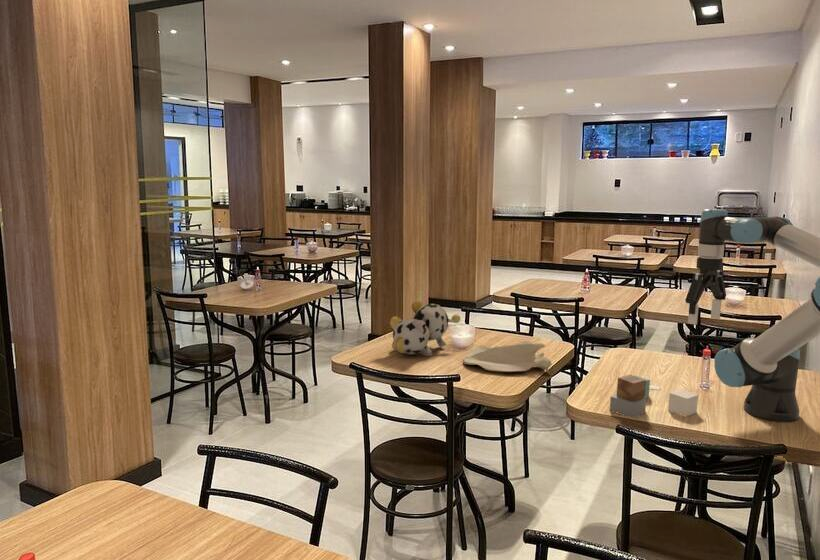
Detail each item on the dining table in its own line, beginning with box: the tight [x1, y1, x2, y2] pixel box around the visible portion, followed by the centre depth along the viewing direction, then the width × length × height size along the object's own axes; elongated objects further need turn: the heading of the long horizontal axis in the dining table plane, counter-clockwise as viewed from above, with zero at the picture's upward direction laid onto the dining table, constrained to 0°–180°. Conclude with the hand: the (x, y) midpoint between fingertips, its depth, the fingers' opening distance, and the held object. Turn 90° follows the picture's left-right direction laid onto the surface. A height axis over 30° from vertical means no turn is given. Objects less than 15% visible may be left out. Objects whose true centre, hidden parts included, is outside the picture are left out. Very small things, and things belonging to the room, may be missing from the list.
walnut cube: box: [616, 374, 646, 402], centre depth 190 cm, size 6×6×6 cm
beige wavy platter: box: [462, 340, 553, 373], centre depth 236 cm, size 36×21×11 cm, turn 53°
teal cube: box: [633, 374, 651, 398], centre depth 205 cm, size 6×6×6 cm
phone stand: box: [649, 384, 661, 391], centre depth 215 cm, size 20×12×2 cm, turn 157°
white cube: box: [667, 388, 699, 417], centre depth 191 cm, size 6×6×6 cm
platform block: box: [609, 392, 647, 419], centre depth 191 cm, size 8×8×5 cm
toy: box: [389, 299, 461, 357], centre depth 254 cm, size 21×33×20 cm
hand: (703, 321), depth 199 cm, fingers open, 13 cm apart
